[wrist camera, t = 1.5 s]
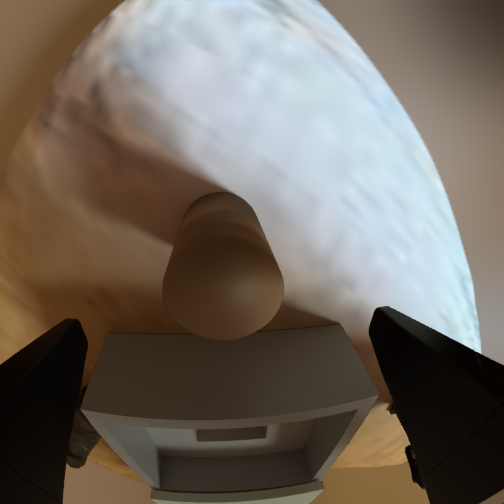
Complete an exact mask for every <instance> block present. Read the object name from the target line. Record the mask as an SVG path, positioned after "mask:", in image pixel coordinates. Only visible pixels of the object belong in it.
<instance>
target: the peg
mask: <svg viewBox="0 0 504 504" xmlns="http://www.w3.org/2000/svg"><path fill="white" fill-rule="evenodd" d="M162 292H163V299H164V303H165V305H166V308H167V310H168V312H169V313H170V315H171V316H172V318H173V319H174V320H175V321H176V322H177V323H178V324H179V325H180V326H182V327H183V328H184V329H186V330H187V331H189V332H191V333H193V334H195V335H197V336H200V337H203V338H208V339H213V340H232V339H237V338H241V337H245V336H248V335H250V334H252V333H254V332H256V331H258V330H260V329H261V328H262V327H264V326H265V325H266V324H267V323H268V322H270V320H271V319H272V318H273V317H274V316H275V314H276V313H277V311H278V309H279V307H280V305H281V302H282V299H283V294H284V283H283V277H282V274H281V271H280V269H279V267H278V264H277V262H276V260H275V257H274V255H273V253H272V250H271V248H270V246H269V243H268V241H267V239H266V237H265V234H264V232H263V230H262V227H261V225H260V223H259V221H258V218H257V216H256V214H255V212H254V210H253V209H252V207H251V206H250V205H249V204H248V203H247V202H246V201H245V200H243V199H242V198H240V197H238V196H236V195H234V194H230V193H224V192H218V193H211V194H208V195H205V196H203V197H201V198H199V199H198V200H196V201H195V202H194V203H193V204H192V205H191V206H190V207H189V208H188V210H187V212H186V214H185V216H184V218H183V221H182V224H181V227H180V230H179V233H178V236H177V239H176V242H175V245H174V248H173V251H172V254H171V257H170V260H169V263H168V266H167V269H166V273H165V276H164V280H163V287H162Z"/></svg>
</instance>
